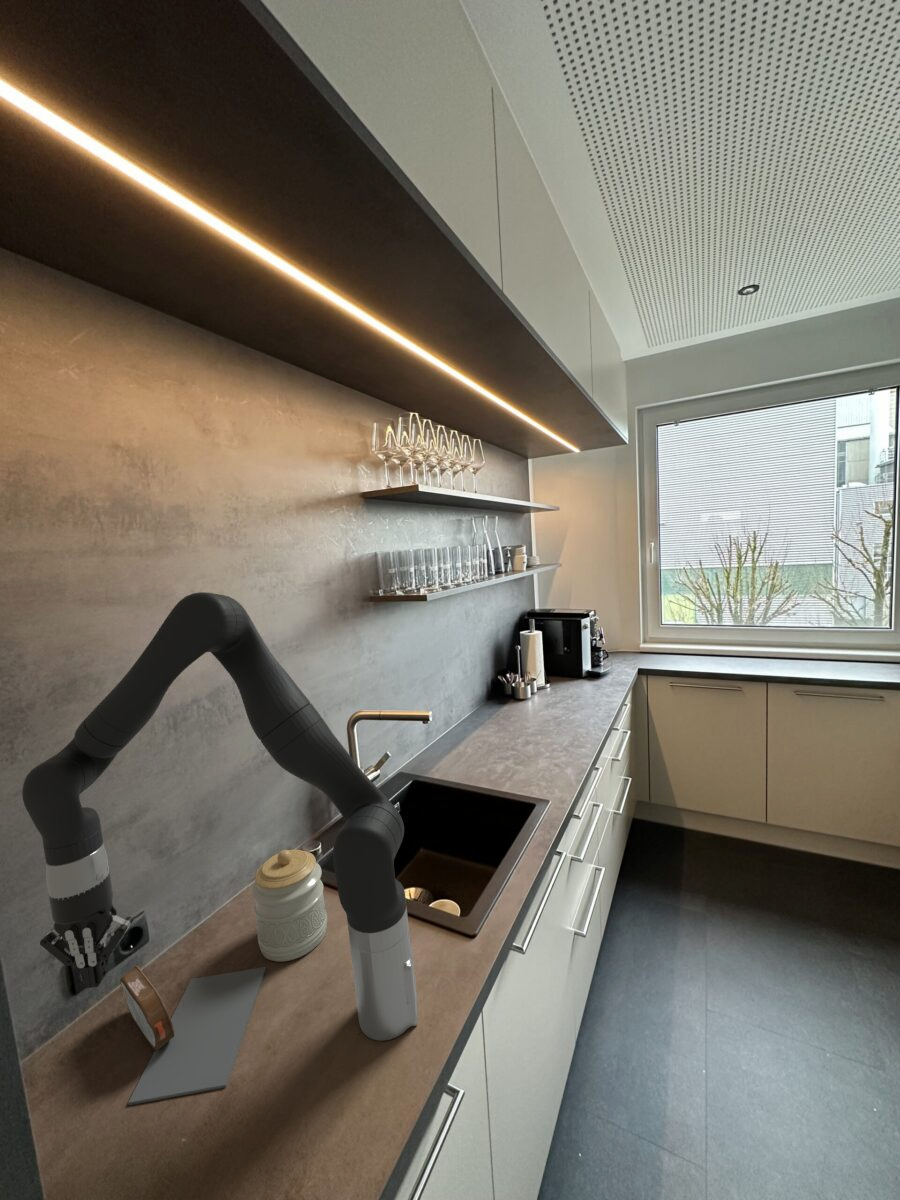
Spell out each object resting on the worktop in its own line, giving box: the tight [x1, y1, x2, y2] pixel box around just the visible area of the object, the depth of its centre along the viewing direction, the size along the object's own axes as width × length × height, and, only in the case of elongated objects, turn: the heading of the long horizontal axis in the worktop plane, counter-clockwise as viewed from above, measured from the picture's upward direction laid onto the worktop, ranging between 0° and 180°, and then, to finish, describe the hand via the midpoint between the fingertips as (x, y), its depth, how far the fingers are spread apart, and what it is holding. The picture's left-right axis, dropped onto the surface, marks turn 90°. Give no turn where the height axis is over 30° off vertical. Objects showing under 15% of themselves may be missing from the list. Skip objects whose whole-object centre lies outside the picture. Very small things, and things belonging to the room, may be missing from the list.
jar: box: [251, 849, 328, 962], centre depth 94 cm, size 13×13×18 cm
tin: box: [119, 965, 174, 1051], centre depth 77 cm, size 15×3×8 cm, turn 50°
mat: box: [127, 966, 267, 1106], centre depth 77 cm, size 13×20×1 cm, turn 6°
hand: (95, 983), depth 76 cm, fingers closed
